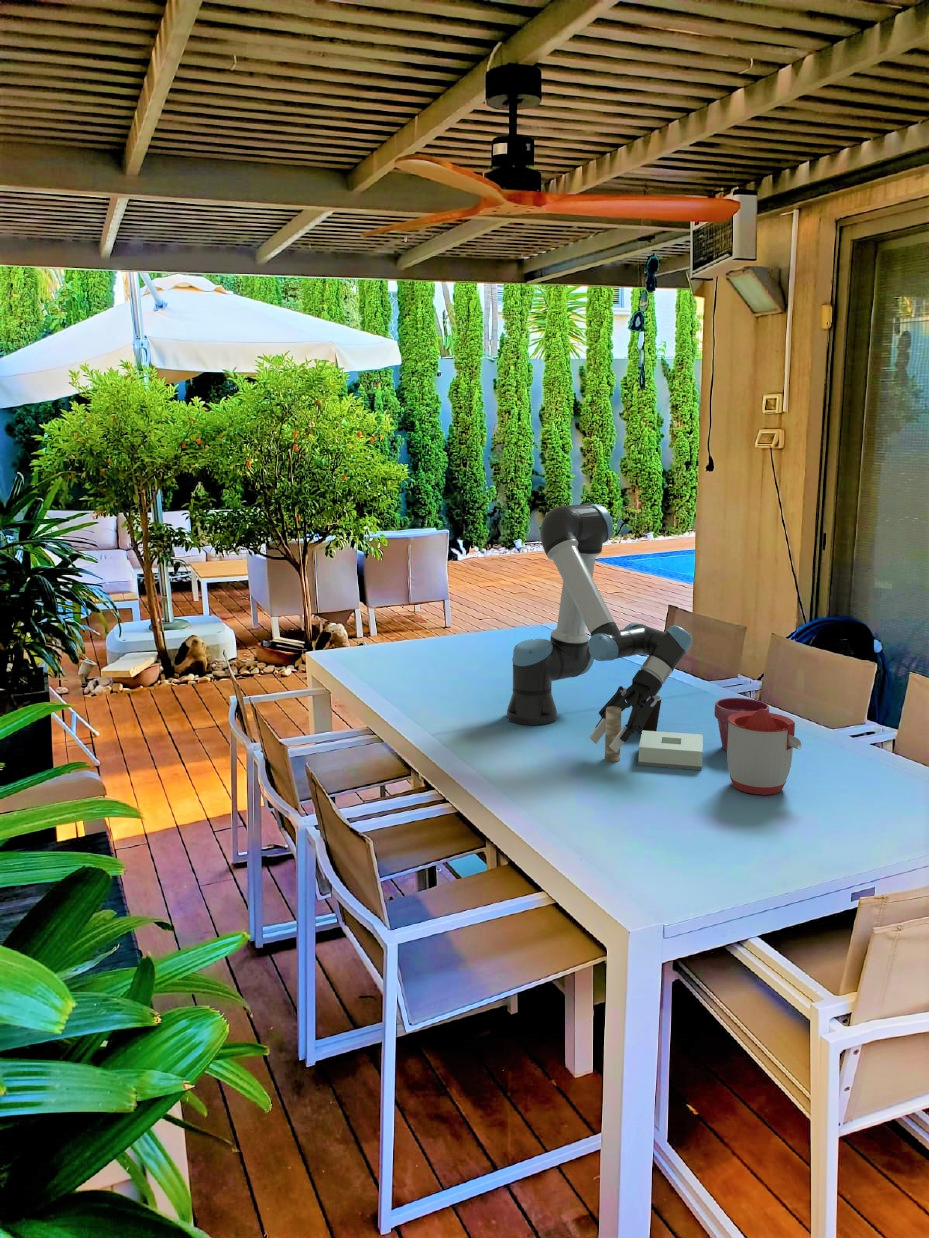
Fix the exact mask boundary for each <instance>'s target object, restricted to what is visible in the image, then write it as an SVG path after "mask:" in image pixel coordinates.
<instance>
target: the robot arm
mask: <svg viewBox="0 0 929 1238" xmlns="http://www.w3.org/2000/svg"><path fill="white" fill-rule="evenodd" d="M543 517H544V518H543V519H542V522H541V524H540V533H539V535H540V541H541V546H542V548H543V551H544V553H545V555H546V557H547V559H548V560H552V562H553V563H554V565H555V567H556V569H557V571H558V572H559V574H560V577H561V579H562V587H561V594H560V603H559V608H558V609H559V610H558V615H557V624H556V627H555V629H554V630H552V631H551V633H550V639H549V640H548V639H546V638H535V639H527V640H525V639H524V640H522V641H520V642H518V643H516V645H515V646H514V647H513V652H512V658H511V659H512V694H511V697H510V700H509V703H508V706H507V708H506V719H507V720H508V721H509V722H512V723H515V724H518V725H524V726H536V725H537V726H540V725H541V726H542V725H547V724H551V723H555V722H556V720H557V718H558V710H557V706H556V704H555V701H554V697H553V695H552V683H553V682H554V681H555V682H556V681H558V680H565V679H569V678H576V677H579V676H582V675H584V674H586V673H587V672H589V670H590V669H591V668H592V667H593V664H594V660H595V661H598V662H608V661H615V660H617V659H622V658H627V657H633V656H637V655H638V656H639V655H646V656H648V657H647V658H646V659H645V661H644V662H643V663H642V664H641V666H640V669H639V670H637V672H636V673H635V675H634V676H633V677H632V679H631V681H632V682H631V685H630V686H628V687H627V688H625V687H623V686H622V685H620V686H619V687H618V688H617V690H616V692H615V693H614V694H613V695H612V696H611V698H610V699H609V700H607V702H606V704H604V705H603V707H602V708H601V709H600V710H599V711H598V715H599V716H600V717H601V718H600V720H599V721H598V722H597V724H596V725H595V728H594V730H593V732H592V733H591V734H590V735H589V737H588V739H590V740H591V741H592V743H594V744H595V745H597V744H598V743H599V741H600V740H601V738H602V737H603V735H604V734H605V727H606V708H607V707H610V706H615V707H620V708H621V713H622V712H623V711H625V710H626V709H629V708H631V712H630V715H629V717H628V720H627V723H626V724H624V726H623V727H621V730H620V732H619V733H618V735H617V736H616V737H615V739H614V740H613V742H612V743H611V744H610V746H609V747H610V748H611V749H612V750H613V751H614V752H616V753H617V752H618V750H619V749H620V750H621V748H622V746H623V745H624V743H625V742H627V741H628V740H629V738H630V736H631V735H632V734H634V733H637V732H638V733H637V734H641V733H640V732H641V731H642V729H643V727H644V725H645V723H646V722H647V720H648V718H649V716H650V714H651V712H652V711H653V709H654V708H655V707H656V706H657V705H658V702H657V701H656V700H655V699H654V698H653V697H652V696H656V695H658V693H659V692H660V690H661V688H663V685H664V684H665V683H666V682H667V680H668V679H669V677H670V676H671V675H672V674H673V671H674V670H675V669H676V667H677V666H678V664H679V663H680V662H681V661H682V659H684V657H685V655H687V653H688V651H689V649H690V648H691V645H692V643H694V642H693V637H692V636H691V634H690V633H689V632H688V631H687V630H685V629H684V628H683V627H681V626H678V625H670V626H669V628H667V629H666V631H664V630H659V629H656V628H653V627H651V626H647V625H646V624H644V623H639V622H629V624H628V625H626V626H625V627H624V628H623V629H619V627H618V625H617V623H616V621H615V619H614V618H613V616H612V614H611V612H610V609H609V608H608V606H607V604H606V601H605V600H604V598H603V596H602V593H601V592H600V590H599V588H598V586H597V584H596V582H595V580H594V579H593V578H594V570H595V563H596V557H598V556H599V555H601V553H602V552H603V544H605V543H607V542H609V540H610V539H611V537H612V536H613V532H614V523H613V519H612V516H611V515H610V513H609V511H608V510H607V508H605V507H604V506H603V505H601V504H598V503H582V504H572V505H571V504H569V505H558V506H555V507H554V508H551V509H550V510H549V511H548V512H547V513H546V514H545V515H544V516H543ZM586 628H587V630H588V632H589V634H590V636H589V635H588V634H587V632H586ZM632 706H633V708H632ZM638 725H639V726H638Z"/></svg>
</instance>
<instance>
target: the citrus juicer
mask: <svg viewBox="0 0 929 1238" xmlns="http://www.w3.org/2000/svg"><path fill="white" fill-rule="evenodd" d="M728 722H729V725H728V744H727V751H726V760H727V763H726V764H727V769H728V773H729V778H730V781H731V783H732V785H733V787H734V788H735V789H736V790H739V791H741V792H744V793H748V794H754V795H764V796H771V795H774V794H778V793H780V792H782V790H783V788H784V786H785V785H786V782H787V779H788V777H789V775H790V769H791V767H792V759H793V749H797V750H801V749H802V741H801V739H799V738H798V737H796V736H795V733H796V732H795V731H796V730H795V729H796V728H795V727H796V722H795V721H794V720H793V719H791V718H790V717H787V716H784V715H781V714H779V713H778V714H777V713H773V712H769V713H768V712H766V711H765V710H764V709H759V710H758V711H749V712H739V713H734V714H732V715H730V716H729V717H728Z"/></svg>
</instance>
